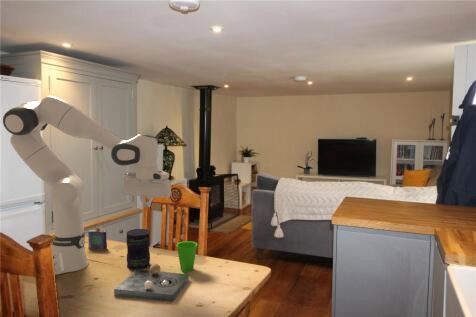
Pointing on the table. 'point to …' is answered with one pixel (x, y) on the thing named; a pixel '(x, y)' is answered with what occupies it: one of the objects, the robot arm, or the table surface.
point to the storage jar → (138, 249)
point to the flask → (97, 239)
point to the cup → (187, 255)
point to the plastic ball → (148, 284)
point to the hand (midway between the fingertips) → (146, 206)
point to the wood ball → (155, 269)
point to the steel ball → (165, 282)
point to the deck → (136, 289)
